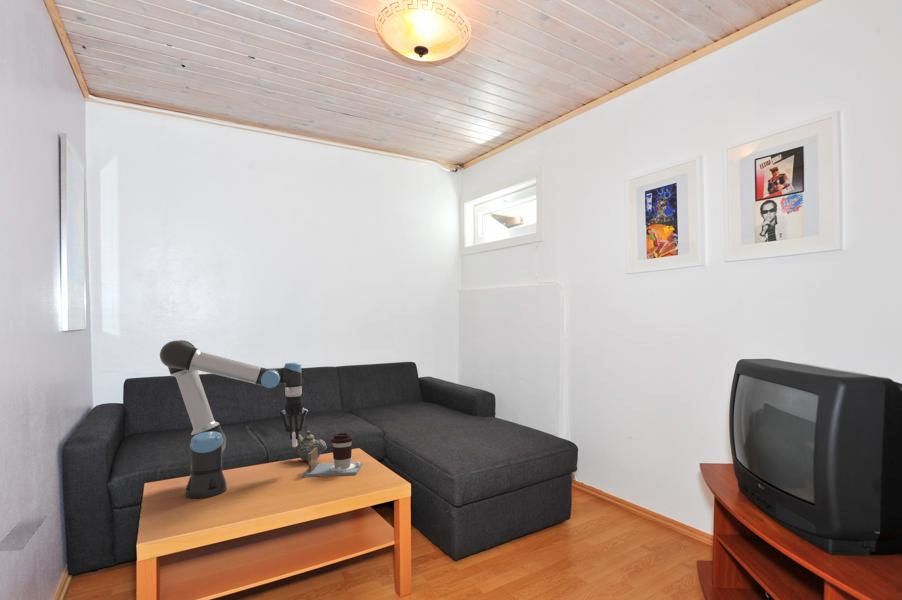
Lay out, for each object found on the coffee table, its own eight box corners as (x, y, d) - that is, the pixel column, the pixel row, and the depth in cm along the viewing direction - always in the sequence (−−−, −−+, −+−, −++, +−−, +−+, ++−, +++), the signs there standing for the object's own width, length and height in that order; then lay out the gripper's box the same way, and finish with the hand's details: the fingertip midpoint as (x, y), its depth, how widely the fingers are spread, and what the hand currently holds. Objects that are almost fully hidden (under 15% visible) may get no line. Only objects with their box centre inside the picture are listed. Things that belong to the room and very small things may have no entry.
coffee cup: (327, 468, 214) (326, 435, 215) (340, 463, 223) (339, 431, 224) (344, 470, 210) (344, 437, 211) (357, 464, 219) (356, 432, 220)
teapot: (332, 459, 237) (332, 429, 238) (318, 465, 226) (318, 433, 227) (299, 456, 245) (299, 427, 246) (284, 461, 234) (284, 431, 236)
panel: (304, 471, 210) (304, 454, 211) (311, 464, 222) (311, 447, 223) (311, 471, 210) (310, 453, 211) (317, 464, 222) (317, 447, 223)
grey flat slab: (302, 477, 207) (302, 469, 208) (312, 466, 224) (312, 459, 225) (356, 474, 208) (356, 467, 209) (362, 464, 225) (362, 457, 226)
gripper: (277, 397, 214) (278, 449, 213) (305, 395, 215) (306, 447, 213) (282, 395, 222) (283, 445, 220) (309, 393, 222) (310, 443, 221)
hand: (294, 446), depth 217 cm, fingers closed
